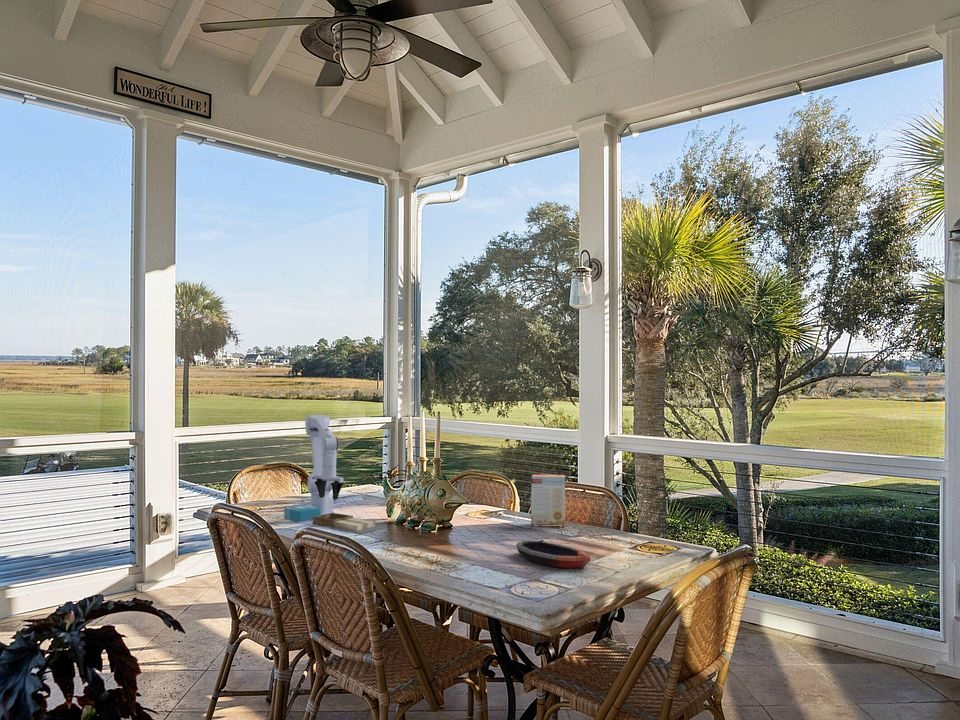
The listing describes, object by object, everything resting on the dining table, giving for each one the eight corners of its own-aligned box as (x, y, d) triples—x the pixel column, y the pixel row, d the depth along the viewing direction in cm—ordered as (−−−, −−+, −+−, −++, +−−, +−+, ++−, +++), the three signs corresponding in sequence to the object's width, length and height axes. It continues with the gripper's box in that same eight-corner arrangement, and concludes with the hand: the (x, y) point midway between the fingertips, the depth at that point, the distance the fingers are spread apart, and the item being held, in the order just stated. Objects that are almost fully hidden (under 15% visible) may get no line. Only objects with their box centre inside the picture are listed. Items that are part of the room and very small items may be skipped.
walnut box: (331, 519, 312) (331, 512, 312) (352, 523, 305) (353, 515, 305) (312, 524, 302) (312, 516, 302) (334, 527, 296) (334, 520, 296)
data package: (282, 507, 314) (307, 504, 322) (282, 518, 314) (307, 514, 322) (297, 511, 305) (322, 508, 314) (297, 522, 305) (322, 518, 314)
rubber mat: (357, 522, 307) (357, 521, 307) (387, 527, 298) (387, 526, 298) (330, 528, 293) (330, 528, 293) (361, 534, 285) (361, 533, 285)
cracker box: (564, 524, 309) (565, 474, 310) (564, 527, 303) (565, 476, 304) (531, 523, 311) (531, 473, 311) (530, 526, 305) (531, 475, 305)
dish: (536, 550, 265) (536, 536, 265) (602, 567, 241) (602, 552, 241) (504, 556, 255) (504, 541, 255) (569, 575, 231) (570, 559, 231)
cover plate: (353, 522, 305) (353, 517, 305) (375, 526, 299) (375, 521, 299) (334, 526, 296) (334, 521, 296) (357, 530, 289) (357, 525, 289)
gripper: (309, 465, 310) (309, 497, 310) (335, 468, 302) (334, 501, 302) (321, 463, 316) (321, 495, 316) (347, 466, 308) (346, 499, 308)
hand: (328, 498), depth 309 cm, fingers open, 7 cm apart
